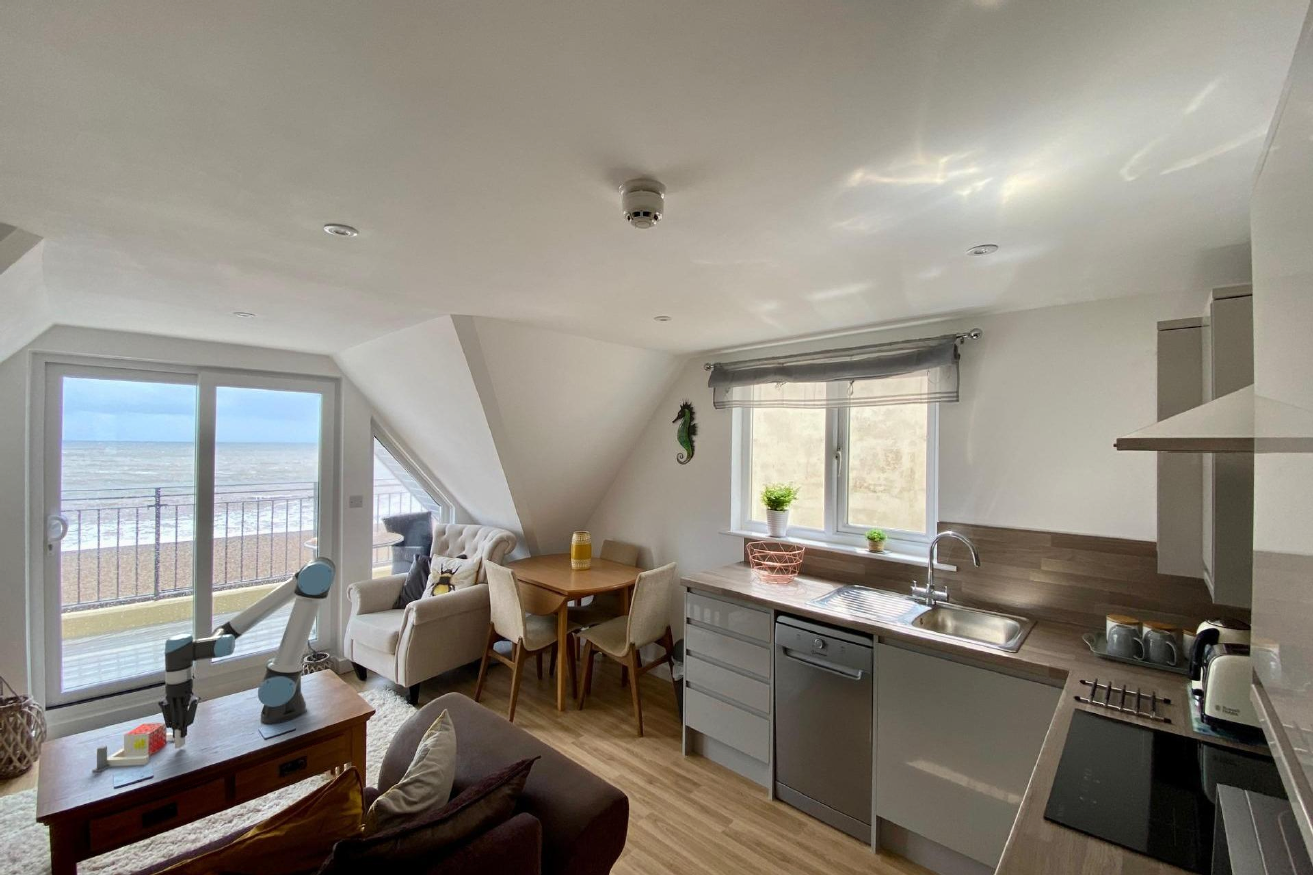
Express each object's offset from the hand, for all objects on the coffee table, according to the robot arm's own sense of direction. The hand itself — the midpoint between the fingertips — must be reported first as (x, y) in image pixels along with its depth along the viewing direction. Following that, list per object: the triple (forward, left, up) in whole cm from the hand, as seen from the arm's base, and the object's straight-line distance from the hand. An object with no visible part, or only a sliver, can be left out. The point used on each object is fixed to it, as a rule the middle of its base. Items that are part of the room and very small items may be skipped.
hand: (180, 746), depth 195 cm
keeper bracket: (+12, +2, -1) cm, 12 cm away
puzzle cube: (+12, 0, -2) cm, 12 cm away
